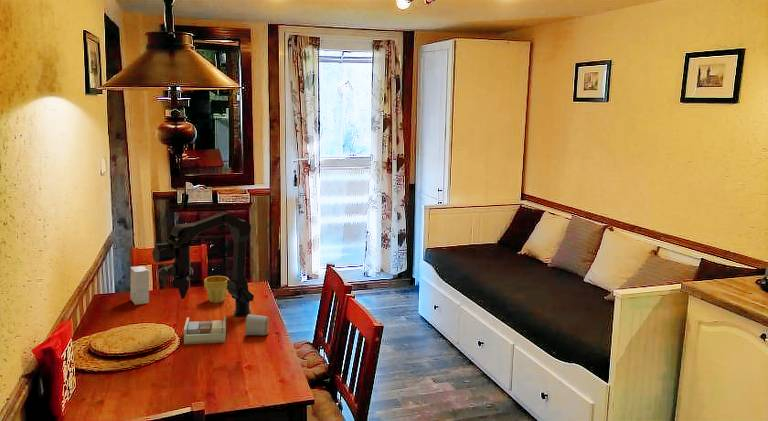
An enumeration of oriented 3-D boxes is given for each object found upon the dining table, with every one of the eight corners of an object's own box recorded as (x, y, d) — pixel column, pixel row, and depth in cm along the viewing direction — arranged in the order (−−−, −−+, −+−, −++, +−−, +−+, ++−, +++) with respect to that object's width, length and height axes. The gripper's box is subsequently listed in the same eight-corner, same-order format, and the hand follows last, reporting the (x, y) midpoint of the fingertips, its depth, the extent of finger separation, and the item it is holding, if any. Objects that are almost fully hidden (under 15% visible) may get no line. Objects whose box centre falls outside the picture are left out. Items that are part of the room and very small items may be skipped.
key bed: (187, 331, 227) (186, 317, 226) (225, 329, 230) (225, 315, 229) (184, 344, 214) (183, 329, 213) (224, 342, 217) (224, 327, 216)
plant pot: (218, 305, 256) (217, 283, 255) (199, 301, 261) (199, 280, 259) (233, 299, 266) (233, 277, 264) (215, 295, 270) (215, 274, 268)
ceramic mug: (267, 338, 223) (267, 318, 221) (244, 338, 222) (244, 318, 221) (270, 328, 233) (270, 309, 232) (249, 328, 233) (249, 309, 231)
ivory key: (212, 326, 226) (212, 320, 226) (222, 326, 227) (222, 320, 226) (211, 334, 218) (211, 328, 218) (222, 333, 219) (221, 327, 219)
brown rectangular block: (201, 327, 225) (201, 321, 225) (211, 326, 226) (211, 320, 225) (199, 334, 217) (199, 328, 217) (210, 334, 218) (210, 328, 218)
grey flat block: (189, 327, 224) (189, 321, 224) (199, 327, 225) (199, 321, 224) (187, 335, 216) (187, 329, 216) (198, 335, 217) (198, 328, 217)
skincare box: (130, 300, 259) (129, 266, 257) (144, 297, 263) (143, 265, 260) (135, 305, 253) (134, 271, 250) (150, 303, 256) (149, 269, 254)
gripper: (162, 253, 232) (163, 291, 234) (155, 265, 214) (157, 307, 216) (192, 252, 234) (193, 290, 237) (188, 264, 216) (189, 306, 219)
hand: (182, 298), depth 227 cm, fingers closed
